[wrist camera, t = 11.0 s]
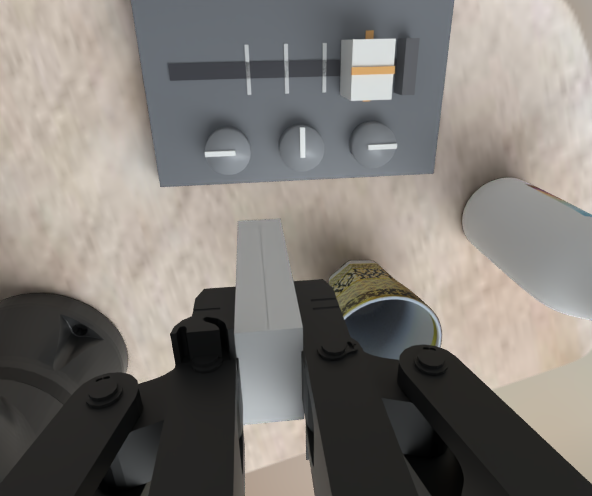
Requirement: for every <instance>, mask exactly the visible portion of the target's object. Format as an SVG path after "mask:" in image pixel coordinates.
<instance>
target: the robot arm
mask: <svg viewBox="0 0 592 496" xmlns="http://www.w3.org/2000/svg"><path fill="white" fill-rule="evenodd" d="M170 336H171V341H172V347H173V353H174V359H175V364H176V365H175V368H174V369H173V370H172V371H170V372H169V373H167V374H165V375H163V376H161V377H158V378H156V379H153V380H150V381H147V382H144V383H140V384H138V382H137V380H136V379H135V378H134V377H133V376H132V375H130V374H126V371H127V367H128V353H127V348H126V345H125V342H124V340H123V338H122V336H121V334H120V333H119V331H118V330H117V329H116V327H115V326H114V325H113V324H112V323H111V322H110V321H109V320H108V319H107V318H106V317H105V316H104V315H102V314H101V313H100V312H98V311H97V310H95V309H94V308H92V307H90V306H88V305H86V304H84V303H82V302H80V301H77V300H75V299H72V298H68V297H65V296H60V295H55V294H46V293H31V294H23V295H18V296H13V297H10V298H7V299H5V300H2V301H0V496H245V444H244V433H243V425H248V424H258V423H268V422H279V421H289V420H299V419H304V413H305V419H306V460H310V466H311V473H312V479H313V487H314V493H315V496H592V484H591V483H590V482H589V481H587V479H585V477H583V476H582V475H581V474H580V473H579V472H578V471H577V470H576V469H575V468H574V467H573V466H572V465H571V464H570V463H569V462H567V461H566V460H565V459H564V458H563V457H562V456H561V455H560V454H559V453H558V452H557V451H556V450H555V449H553V448H552V446H550V445H549V444H548V443H547V442H546V441H545V440H544V439H543V438H542V437H541V436H540V435H539V434H538V433H537V432H536V431H534V430H533V429H532V428H531V427H530V426H529V425H528V424H527V423H526V422H525V421H524V420H523V419H522V418H521V417H520V416H519V415H517V414H516V413H515V412H514V411H513V410H512V409H511V408H510V407H509V406H508V405H507V404H506V403H505V402H504V401H502V399H500V398H499V397H498V396H497V395H496V394H495V393H494V392H493V391H492V390H491V389H490V388H489V387H488V386H487V385H486V384H485V383H483V382H482V381H481V380H480V379H479V378H478V377H477V376H476V375H475V374H474V373H473V372H472V371H471V370H470V369H469V368H468V367H466V366H465V365H464V364H463V363H462V362H461V361H460V360H459V359H458V358H457V357H456V356H454V355H453V354H452V353H450V352H449V351H447V350H445V349H442V348H440V347H437V346H432V345H425V344H422V345H413V346H411V347H409V348H406V349H404V351H403V352H402V353H401V354H400V357H399V360H397V359H390V358H382V357H378V356H374V355H371V354H368V353H366V352H364V351H363V348H362V347H361V346H360V344H359V343H358V341H356V340H354V339H353V338H351V337H350V334H349V331H348V328H347V325H346V323H345V320H344V317H343V314H342V312H341V309H340V307H339V303H338V301H337V299H336V295H335V292H334V289H333V287H332V286H330V285H329V284H328V283H327V282H326V281H324V280H323V279H320V280H306V281H293V277H292V272H291V267H290V262H289V258H288V253H287V248H286V243H285V238H284V233H283V228H282V223H281V219H263V220H245V221H238V237H237V265H236V287H224V288H210V289H204V290H203V291H202V292H201V293H200V294H199V295H198V296H197V298H196V299H195V304H194V309H193V314H192V317H189V318H187V319H184V320H182V321H181V322H180V323H178V324H177V325H176V326H174V328H173V330H172V332H171V333H170Z"/></svg>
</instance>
